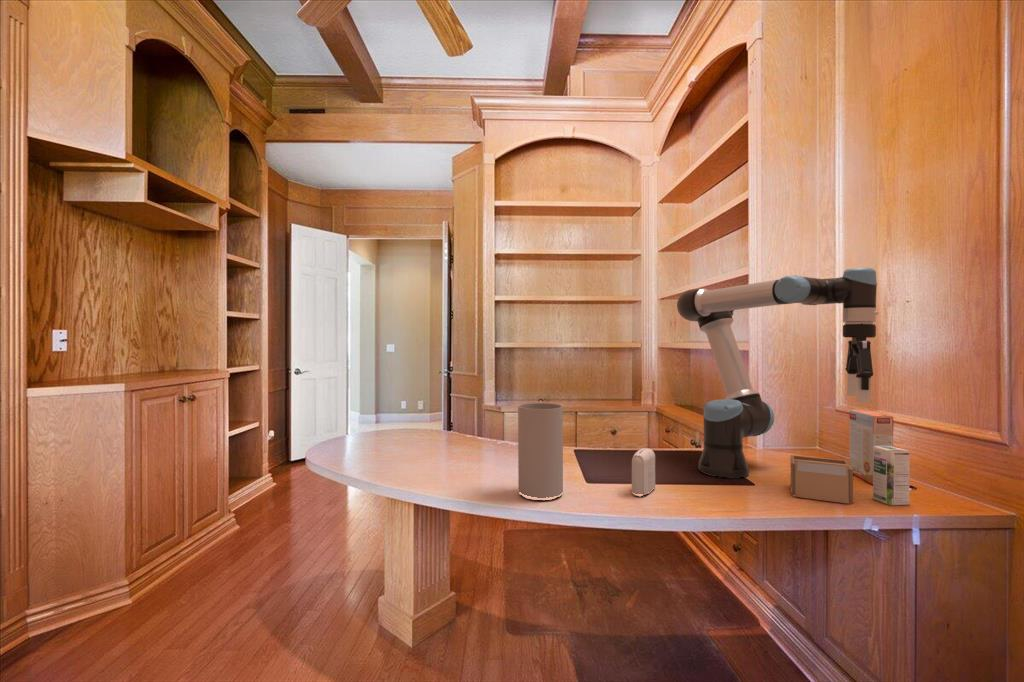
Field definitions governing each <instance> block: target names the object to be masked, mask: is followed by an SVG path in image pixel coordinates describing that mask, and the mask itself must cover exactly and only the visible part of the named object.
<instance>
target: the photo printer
mask: <svg viewBox="0 0 1024 682" xmlns="http://www.w3.org/2000/svg"><path fill="white" fill-rule="evenodd" d="M653 488H655V489H656V454H655V452H654V451H653V450H652V449H651V448H646V447H644V448H640V449H639V450H637V451H636V452H635V453H634V455H633V456H632V459H631V493H632V492H633V493H635V494H643V495H645V494H647V493H648V492H650V491H651V490H652V489H653ZM650 493H651V492H650Z"/></svg>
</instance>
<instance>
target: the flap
mask: <svg viewBox="0 0 1024 682" xmlns="http://www.w3.org/2000/svg"><path fill="white" fill-rule="evenodd" d="M794 497H796V498H802V499H803V498H804V499H811V500H818V501H826V502H834V503H839V504H840V503H842V504H848V505H849V504H850V503H849V466H848V464H839V463H829V462H819V461H809V460H799V459H795V496H794Z"/></svg>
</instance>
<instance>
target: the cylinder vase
mask: <svg viewBox="0 0 1024 682" xmlns="http://www.w3.org/2000/svg"><path fill="white" fill-rule="evenodd" d="M563 410H564V408H563V405H562V404H556V403H548V402H546V403H545V402H544V403H543V402H537V403H536V402H534V403H533V402H532V403H522V404H519V405H518V406H517V412H518V413H517V417H518V418H517V421H518V422H517V425H518V426H517V428H518V429H517V430H518V433H517V434H518V435H517V437H518V440H517V441H518V442H517V446H518V447H517V452H518V453H517V454H518V457H517V459H518V463H517V464H518V468H517V469H518V480H517V481H518V483H517V484H518V489H517V490H519V492H521V493H522V494H524V495H527V496H531V497H537V498H546V497H548V498H549V497H554V496H558V495H560V494H561V493H562V492H563V493H564V476H563V475H564V458H563V457H564V439H563V438H564V437H563V436H564V430H563V429H564V428H563V427H564V418H563V413H564V411H563ZM519 492H518V493H519Z"/></svg>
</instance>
